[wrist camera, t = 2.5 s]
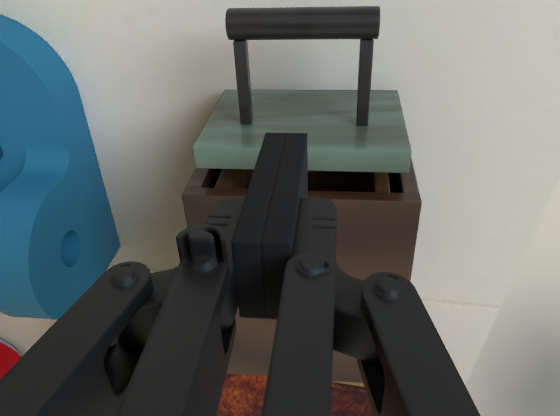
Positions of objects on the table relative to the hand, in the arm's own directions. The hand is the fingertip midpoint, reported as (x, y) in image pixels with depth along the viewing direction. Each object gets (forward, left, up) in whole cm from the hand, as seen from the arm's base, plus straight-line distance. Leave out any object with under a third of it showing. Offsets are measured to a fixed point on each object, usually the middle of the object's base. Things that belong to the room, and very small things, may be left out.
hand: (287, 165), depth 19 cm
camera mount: (+17, -12, -14) cm, 25 cm away
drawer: (+4, +3, -13) cm, 14 cm away
